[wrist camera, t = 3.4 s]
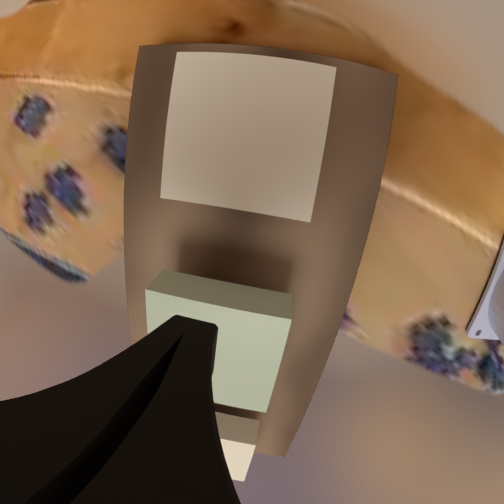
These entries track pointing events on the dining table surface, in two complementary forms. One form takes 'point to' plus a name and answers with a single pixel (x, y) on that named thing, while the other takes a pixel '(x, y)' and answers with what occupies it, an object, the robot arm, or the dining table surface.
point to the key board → (262, 223)
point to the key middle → (229, 331)
